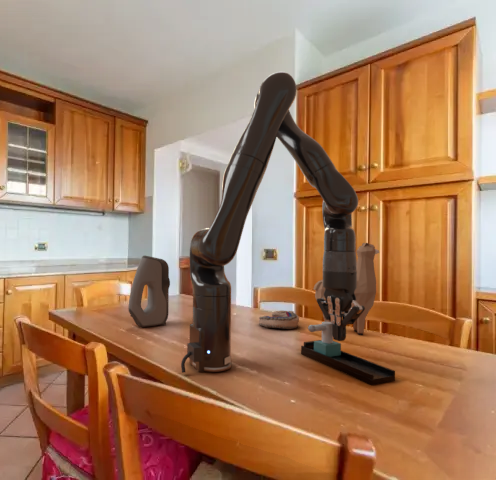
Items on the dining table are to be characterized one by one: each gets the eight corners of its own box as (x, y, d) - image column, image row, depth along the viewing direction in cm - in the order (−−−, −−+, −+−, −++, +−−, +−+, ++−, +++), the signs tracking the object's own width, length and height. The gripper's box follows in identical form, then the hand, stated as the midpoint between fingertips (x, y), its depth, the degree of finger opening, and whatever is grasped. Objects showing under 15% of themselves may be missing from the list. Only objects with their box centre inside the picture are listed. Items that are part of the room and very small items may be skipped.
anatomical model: (252, 325, 120) (252, 312, 120) (279, 319, 130) (279, 307, 130) (281, 332, 110) (281, 318, 110) (308, 325, 120) (308, 312, 120)
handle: (314, 359, 81) (314, 326, 82) (303, 354, 85) (303, 322, 85) (341, 355, 84) (341, 323, 84) (328, 350, 88) (328, 320, 88)
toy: (384, 338, 105) (384, 242, 105) (316, 334, 109) (316, 242, 109) (373, 330, 114) (373, 242, 114) (310, 327, 118) (311, 242, 118)
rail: (371, 385, 70) (371, 370, 70) (301, 353, 89) (301, 342, 89) (395, 380, 72) (395, 366, 72) (321, 351, 92) (321, 339, 92)
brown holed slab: (170, 324, 121) (170, 255, 121) (132, 330, 112) (133, 256, 112) (161, 321, 126) (161, 254, 126) (124, 326, 117) (125, 255, 117)
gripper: (307, 267, 87) (307, 334, 87) (350, 272, 75) (350, 349, 74) (330, 267, 90) (329, 331, 89) (374, 271, 77) (374, 346, 77)
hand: (339, 339), depth 82 cm, fingers closed
